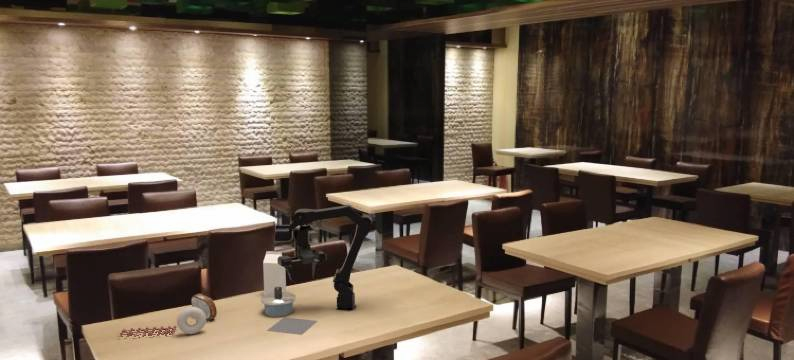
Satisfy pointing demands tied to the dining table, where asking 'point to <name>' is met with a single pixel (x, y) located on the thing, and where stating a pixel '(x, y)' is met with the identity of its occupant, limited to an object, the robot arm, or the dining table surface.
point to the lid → (278, 297)
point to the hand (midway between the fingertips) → (302, 279)
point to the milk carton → (273, 273)
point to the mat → (292, 325)
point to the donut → (188, 313)
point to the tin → (204, 305)
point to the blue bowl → (278, 310)
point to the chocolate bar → (150, 333)
